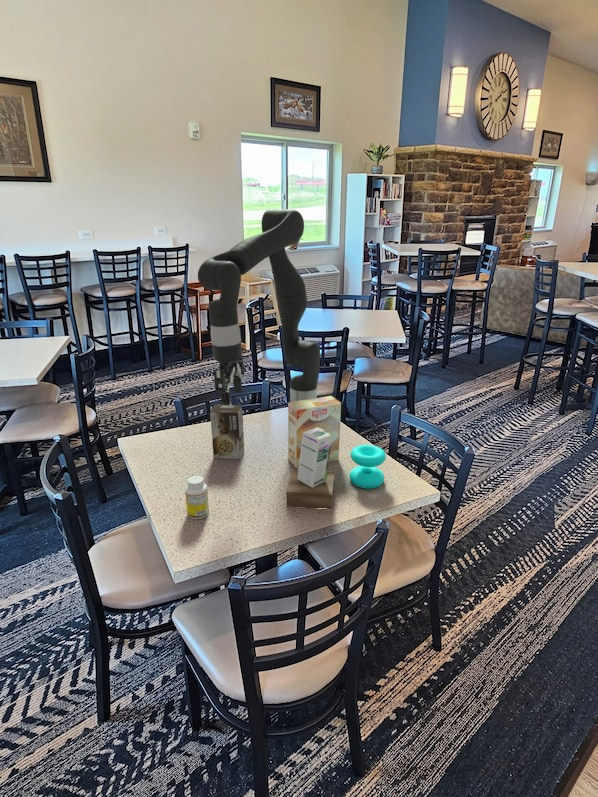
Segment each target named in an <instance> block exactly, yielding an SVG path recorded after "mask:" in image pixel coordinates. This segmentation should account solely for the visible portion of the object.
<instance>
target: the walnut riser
mask: <svg viewBox="0 0 598 797" xmlns="http://www.w3.org/2000/svg"><path fill="white" fill-rule="evenodd" d="M297 477H298V469H291V473H290V477H289V481H288V484H287V489H286V496H285V497H286V498H285V500H286V505H285V506H287V507H286V508H296V507H305V508H304V509H311V508H327V509H332V508H333V507H332V506H333V500H332V499H333V498H334V488H335V487H334V484H335V471H327V477H326V481H325V482H323V483H321V484H319V485H317V486H314V487H313V488H312V487H310V486H308V485H306V484H305V483H303V482H301V481H300V480H298V479H297Z"/></svg>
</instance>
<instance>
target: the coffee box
mask: <svg viewBox="0 0 598 797" xmlns="http://www.w3.org/2000/svg"><path fill="white" fill-rule="evenodd" d="M209 415H210V416H209V417H210V418H209V419H210V427H211V441H212V454H213V459H224V460H225V459H232V460H241V459H242V457H243V455H244V453H245V439H244V438H245V436H244V434H245V433H244V415H243V405H241V404H229V405H222V404H214V405H213V407H212V409H211V410H210V412H209Z"/></svg>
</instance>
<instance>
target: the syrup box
mask: <svg viewBox="0 0 598 797" xmlns="http://www.w3.org/2000/svg"><path fill="white" fill-rule="evenodd" d="M331 442H332V434H331V433H329V432H327V431H325V430H323V429H321V428H318V427H316V428H314V429H311V430H308V431H306V432H303V435H302V444H301V452H300V460H299V468H297V470H298V477H297V479H298V480H300V481H301V482H303V483H305V484H306V485H308V486H310V487H312V488H313V487H314V486H317V485H319V484H321V483H323V482H325V481H326V477H327V472H328V468H329V462H330V461H329V456H330V449H331Z"/></svg>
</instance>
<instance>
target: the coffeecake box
mask: <svg viewBox="0 0 598 797" xmlns="http://www.w3.org/2000/svg"><path fill="white" fill-rule="evenodd" d="M287 403H288V404H287V409H288V410H287V412H288V414H287V415H288V416H287V419H288V420H287V421H288V422H287V460H288V461H289V462H290V463H291V464H292V466H293V467H294V468H296V469H299V460H300V452H301V444H302V435H303V432H306V431H308V430H311V429H314V428H316V427H318V428H321V429H323V430H325V431H327V432H329V433H331V434H332V442H331V449H330V456H329V462H331V461H332V462H333V461H337V460H339V459H340V456H339V455H340V436H341V435H340V433H341V415H342V414H341V412H342V402H341V401H339V400H338V399H336V398H335V397H334V396H332V395H328V396H320V397H317V398H313V399H307V400H300V401H294V402H290V401H289V402H287Z"/></svg>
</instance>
